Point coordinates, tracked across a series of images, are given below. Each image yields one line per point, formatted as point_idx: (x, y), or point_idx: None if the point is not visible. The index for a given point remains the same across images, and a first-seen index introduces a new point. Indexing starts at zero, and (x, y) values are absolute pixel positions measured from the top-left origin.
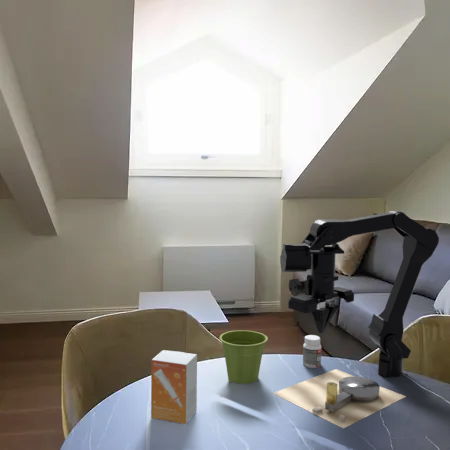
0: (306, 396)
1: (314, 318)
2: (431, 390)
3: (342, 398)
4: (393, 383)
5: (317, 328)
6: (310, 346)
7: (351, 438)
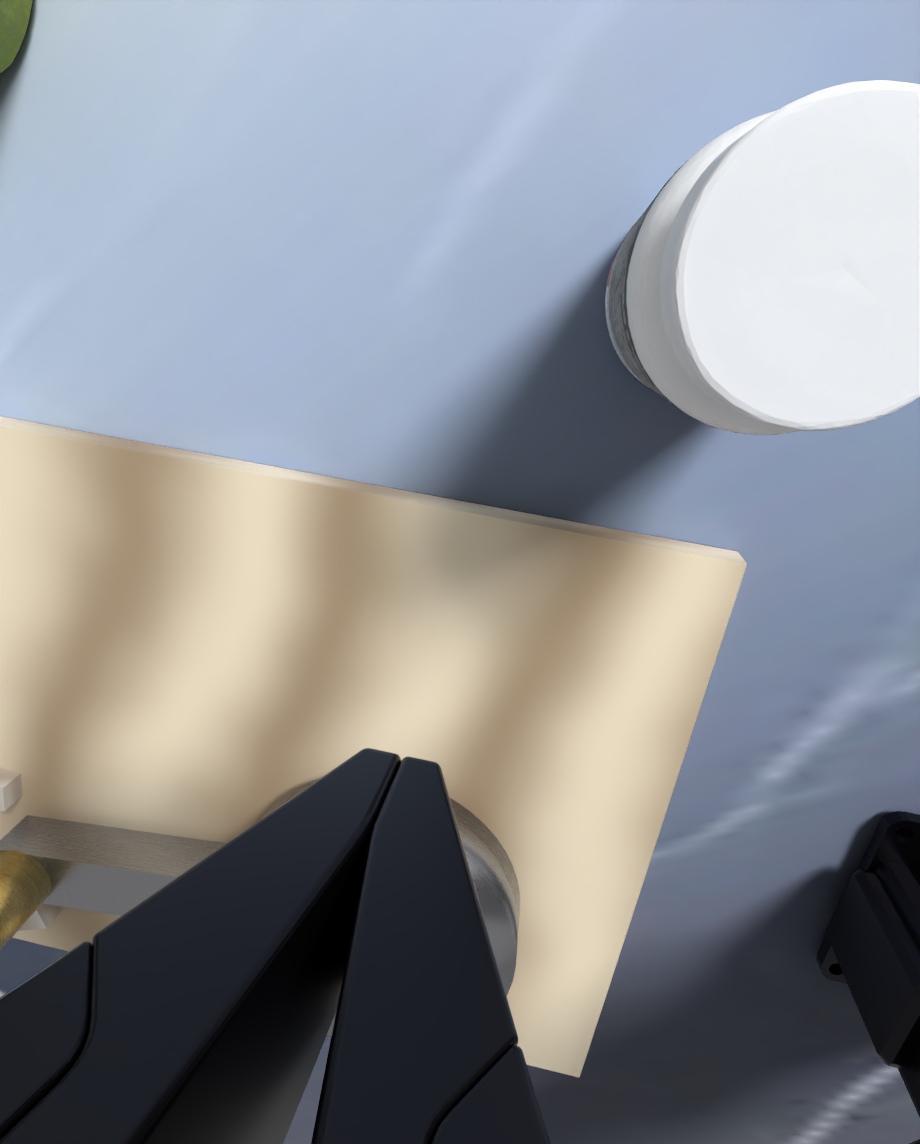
0: (88, 632)
1: (9, 1023)
2: (840, 1129)
3: (119, 907)
4: (808, 952)
5: (307, 800)
6: (662, 321)
7: (6, 948)
